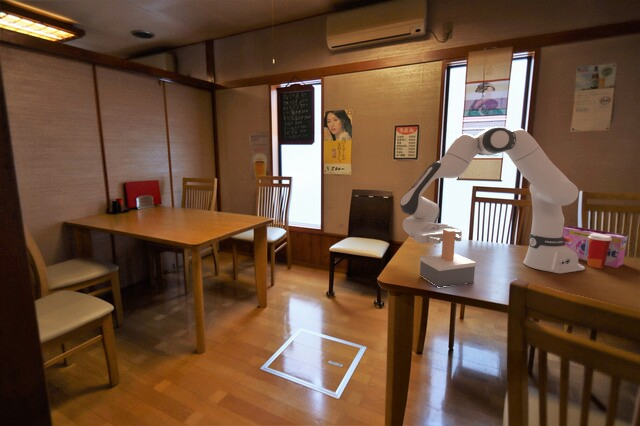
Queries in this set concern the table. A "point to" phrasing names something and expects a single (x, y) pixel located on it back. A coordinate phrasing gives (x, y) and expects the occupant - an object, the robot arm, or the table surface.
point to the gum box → (582, 240)
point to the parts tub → (447, 275)
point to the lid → (447, 255)
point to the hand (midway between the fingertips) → (449, 240)
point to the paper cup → (598, 250)
